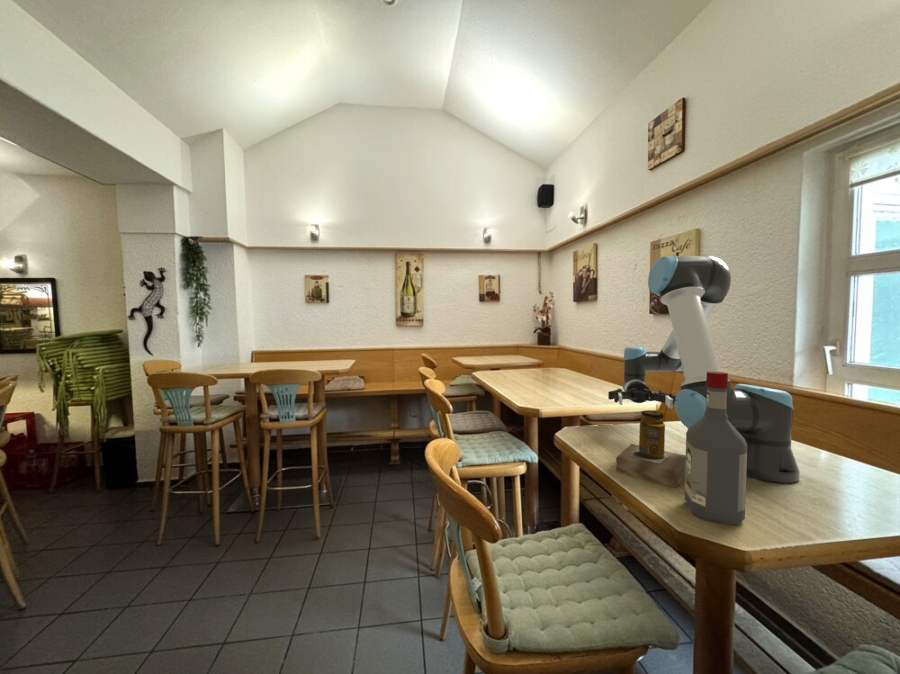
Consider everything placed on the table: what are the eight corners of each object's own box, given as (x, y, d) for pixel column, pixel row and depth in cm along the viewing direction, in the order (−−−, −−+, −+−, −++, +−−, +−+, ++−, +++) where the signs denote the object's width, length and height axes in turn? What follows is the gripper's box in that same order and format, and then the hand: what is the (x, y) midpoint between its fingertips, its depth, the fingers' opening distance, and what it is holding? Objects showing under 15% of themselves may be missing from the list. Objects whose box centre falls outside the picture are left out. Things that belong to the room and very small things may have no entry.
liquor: (730, 505, 77) (734, 370, 76) (749, 528, 69) (754, 376, 68) (681, 498, 81) (685, 369, 79) (694, 519, 72) (698, 374, 71)
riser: (686, 470, 96) (686, 455, 96) (676, 487, 86) (676, 471, 86) (631, 456, 106) (631, 443, 106) (616, 471, 95) (616, 456, 95)
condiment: (669, 455, 96) (670, 412, 96) (660, 464, 90) (661, 418, 90) (640, 448, 101) (641, 407, 101) (629, 456, 96) (630, 413, 95)
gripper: (677, 404, 123) (693, 418, 103) (599, 398, 132) (601, 410, 113) (677, 382, 123) (693, 392, 103) (600, 379, 132) (601, 387, 112)
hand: (645, 402), depth 108 cm, fingers open, 13 cm apart
